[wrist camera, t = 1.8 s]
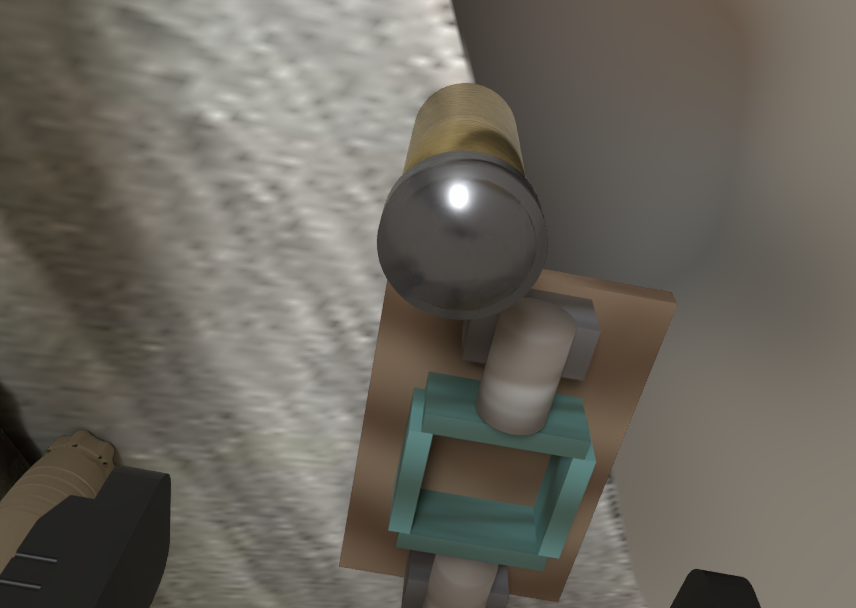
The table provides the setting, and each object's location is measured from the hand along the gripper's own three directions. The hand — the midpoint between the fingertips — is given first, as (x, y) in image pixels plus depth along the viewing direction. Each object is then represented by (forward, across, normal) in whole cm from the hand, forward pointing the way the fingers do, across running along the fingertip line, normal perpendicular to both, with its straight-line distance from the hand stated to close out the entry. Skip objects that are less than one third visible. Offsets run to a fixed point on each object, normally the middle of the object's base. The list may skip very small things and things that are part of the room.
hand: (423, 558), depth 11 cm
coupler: (+20, 0, 0) cm, 20 cm away
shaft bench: (+20, -5, +14) cm, 25 cm away
